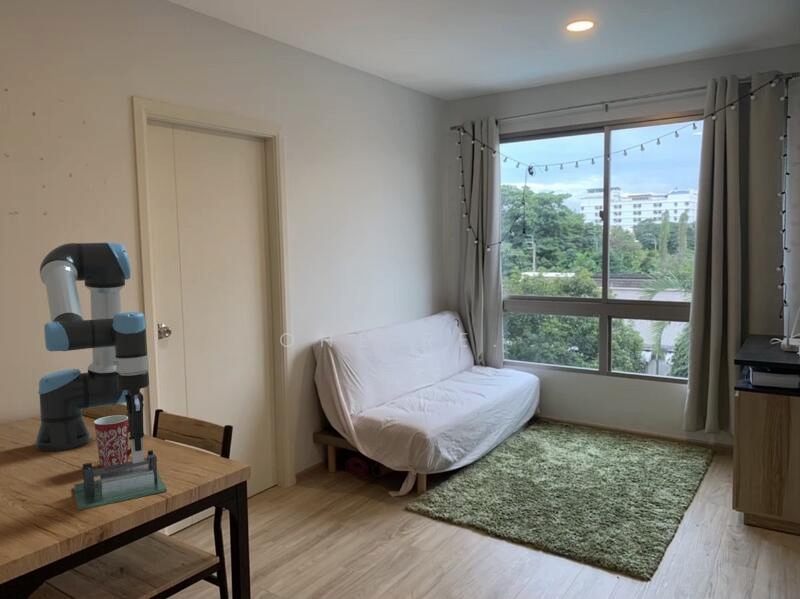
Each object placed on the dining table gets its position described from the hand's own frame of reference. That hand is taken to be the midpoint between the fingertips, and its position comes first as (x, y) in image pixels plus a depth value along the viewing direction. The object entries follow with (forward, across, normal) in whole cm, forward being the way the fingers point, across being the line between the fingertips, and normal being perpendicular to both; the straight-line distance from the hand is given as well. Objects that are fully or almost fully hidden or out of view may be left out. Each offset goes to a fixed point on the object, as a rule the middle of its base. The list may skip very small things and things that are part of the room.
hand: (138, 461), depth 155 cm
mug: (+7, -21, -2) cm, 22 cm away
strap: (+1, 0, -4) cm, 4 cm away
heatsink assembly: (+7, 0, -5) cm, 8 cm away
